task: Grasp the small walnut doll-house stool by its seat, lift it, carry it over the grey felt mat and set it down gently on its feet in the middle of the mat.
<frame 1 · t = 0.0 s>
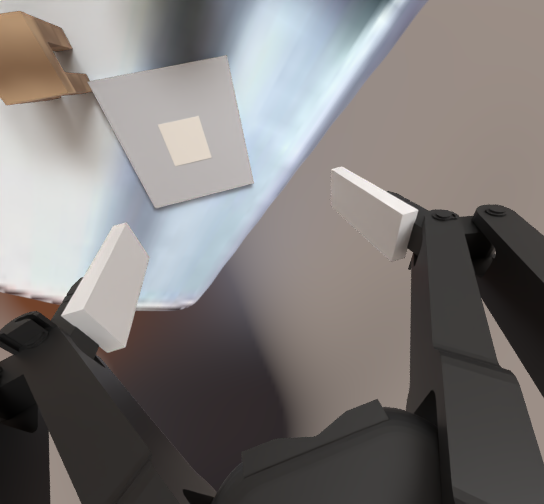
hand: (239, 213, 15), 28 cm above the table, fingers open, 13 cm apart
mat: (186, 140, 36), on the table
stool: (53, 66, 28), on the table
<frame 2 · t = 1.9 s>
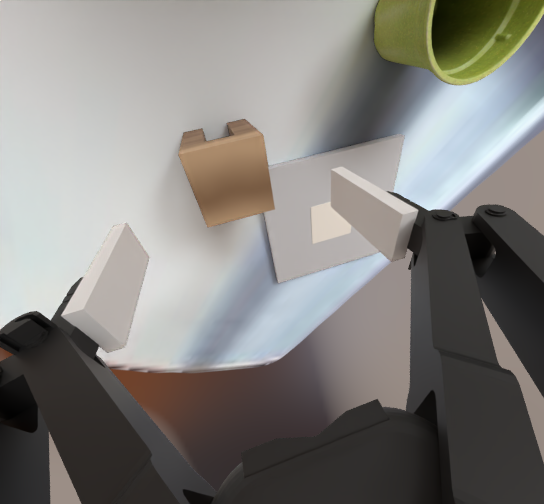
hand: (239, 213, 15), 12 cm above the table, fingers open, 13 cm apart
plant pot: (400, 19, 21), on the table
mat: (328, 217, 32), on the table
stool: (223, 157, 24), on the table
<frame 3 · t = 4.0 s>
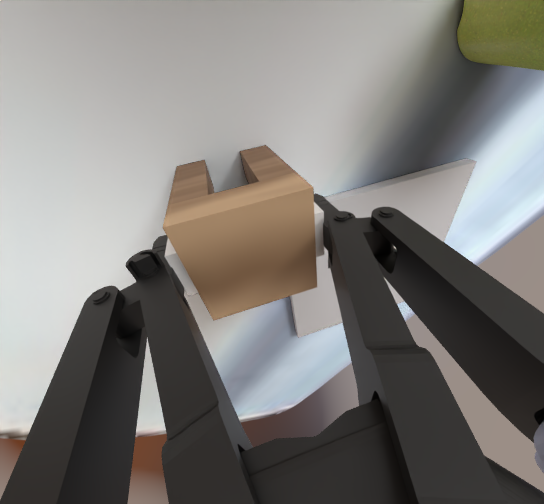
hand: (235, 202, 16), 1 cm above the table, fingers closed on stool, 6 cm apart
plant pot: (496, 0, 14), on the table
mat: (364, 260, 25), on the table
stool: (234, 197, 17), on the table, touching gripper
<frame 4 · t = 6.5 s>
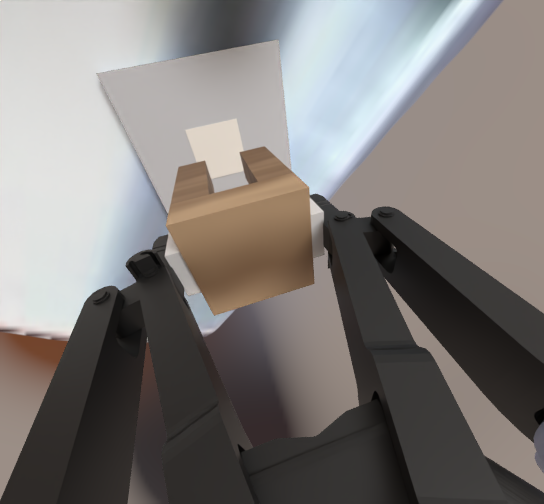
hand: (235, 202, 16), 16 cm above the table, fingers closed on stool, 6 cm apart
mat: (218, 149, 29), on the table
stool: (233, 196, 17), point 15 cm above the table, touching gripper
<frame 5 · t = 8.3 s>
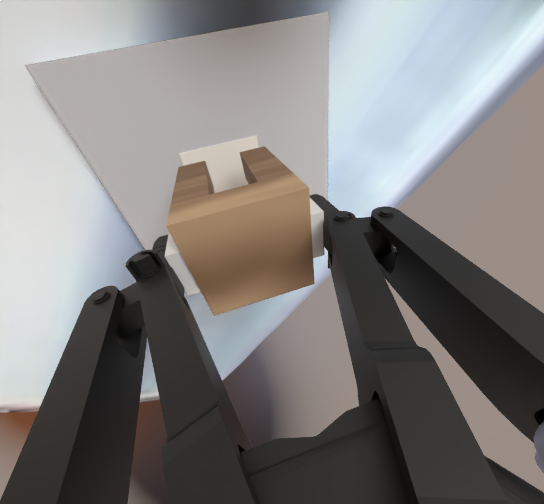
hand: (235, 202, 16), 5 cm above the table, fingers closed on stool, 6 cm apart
mat: (227, 178, 20), on the table
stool: (233, 196, 17), point 4 cm above the table, touching gripper
when the fingers open (3 cm above the table, at t = 9.4 s): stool stays where it is, resting on mat.
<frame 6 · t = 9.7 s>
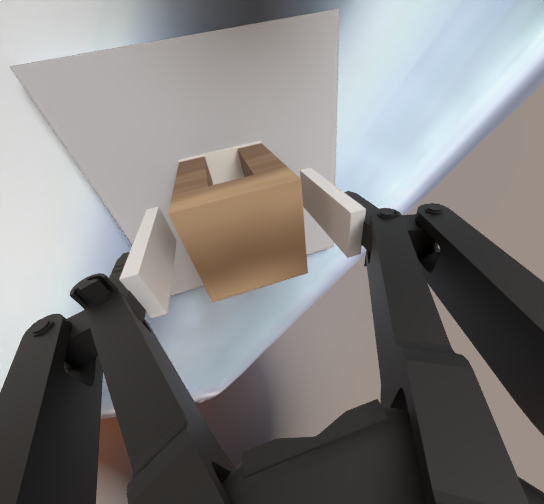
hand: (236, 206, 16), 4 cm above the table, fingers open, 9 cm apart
mat: (230, 185, 19), on the table
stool: (232, 191, 18), point 1 cm above the table, touching mat
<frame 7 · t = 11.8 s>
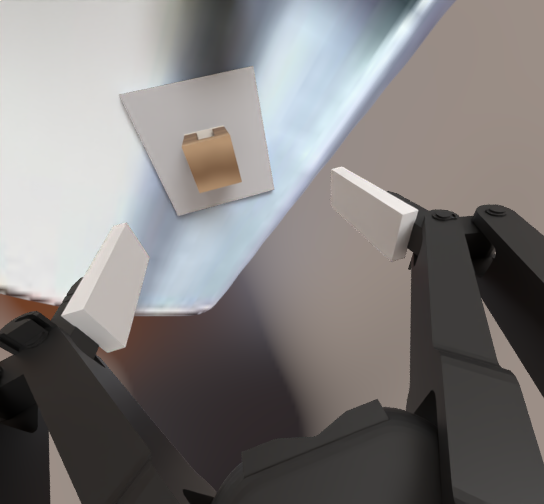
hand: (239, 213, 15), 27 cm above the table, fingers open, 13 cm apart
mat: (210, 149, 36), on the table
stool: (211, 151, 35), point 1 cm above the table, touching mat
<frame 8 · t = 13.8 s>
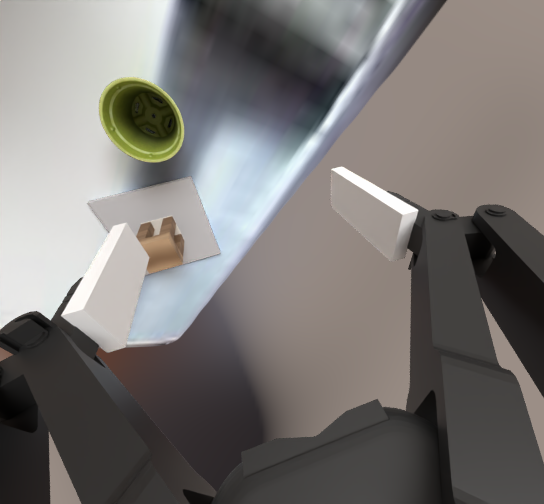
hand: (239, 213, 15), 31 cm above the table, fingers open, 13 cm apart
plant pot: (154, 116, 35), on the table
mat: (164, 229, 46), on the table
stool: (163, 232, 45), point 1 cm above the table, touching mat
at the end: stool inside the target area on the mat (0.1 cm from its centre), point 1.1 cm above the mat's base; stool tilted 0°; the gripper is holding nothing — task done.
